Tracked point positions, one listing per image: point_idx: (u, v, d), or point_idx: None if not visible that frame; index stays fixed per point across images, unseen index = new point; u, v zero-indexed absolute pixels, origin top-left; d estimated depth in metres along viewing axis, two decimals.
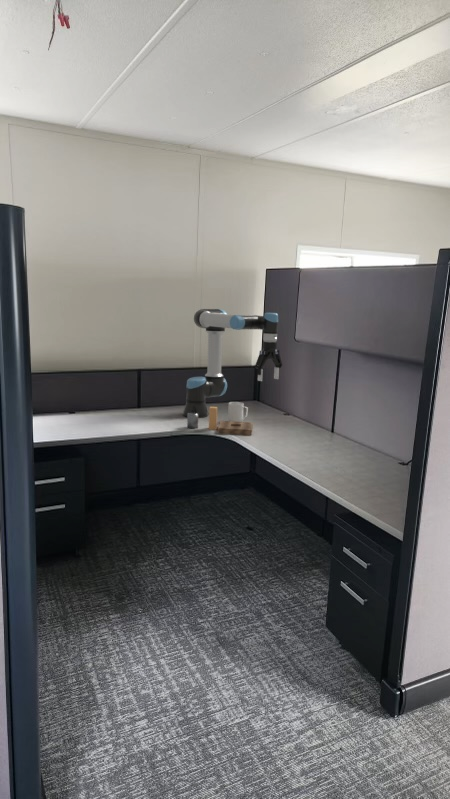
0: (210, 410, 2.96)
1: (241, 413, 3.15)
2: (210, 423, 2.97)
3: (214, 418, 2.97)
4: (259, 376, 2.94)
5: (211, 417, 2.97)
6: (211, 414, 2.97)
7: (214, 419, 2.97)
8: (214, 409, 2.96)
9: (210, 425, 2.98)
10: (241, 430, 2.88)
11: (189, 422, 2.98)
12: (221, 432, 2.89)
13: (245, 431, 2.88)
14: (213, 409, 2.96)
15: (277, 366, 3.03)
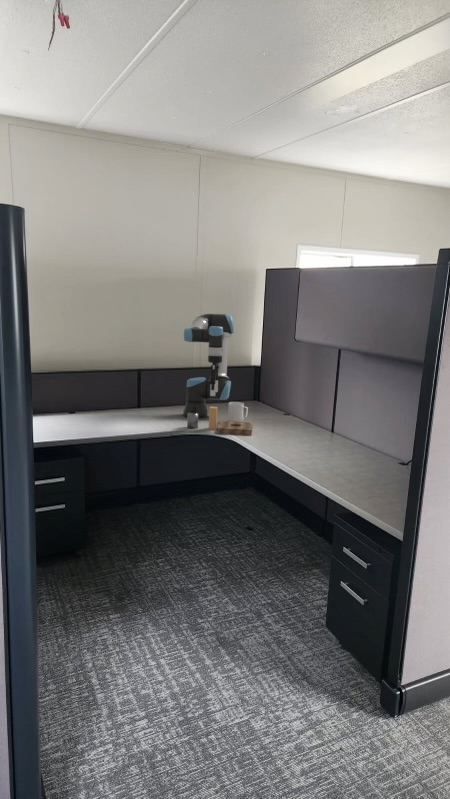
0: (210, 410, 2.96)
1: (241, 413, 3.15)
2: (210, 423, 2.97)
3: (214, 418, 2.97)
4: (212, 391, 2.89)
5: (211, 417, 2.97)
6: (211, 414, 2.97)
7: (214, 419, 2.97)
8: (214, 409, 2.96)
9: (210, 425, 2.98)
10: (241, 430, 2.88)
11: (189, 422, 2.98)
12: (221, 432, 2.89)
13: (245, 431, 2.88)
14: (213, 409, 2.96)
15: (216, 379, 3.02)
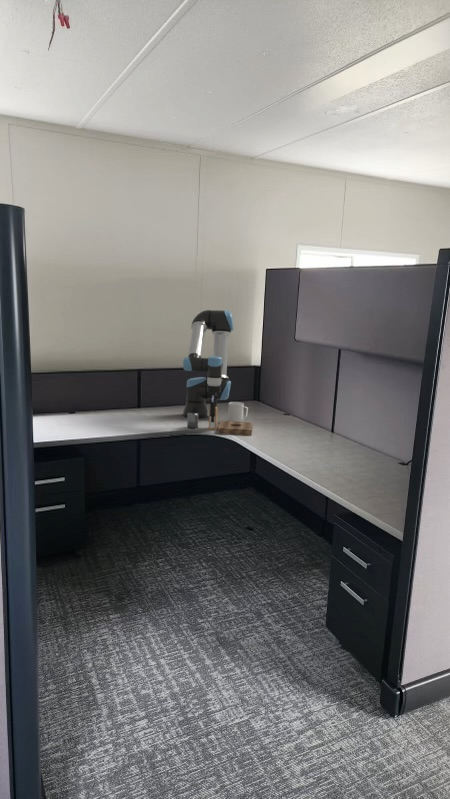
0: None
1: (241, 413, 3.15)
2: None
3: None
4: (212, 423, 2.97)
5: None
6: None
7: None
8: None
9: None
10: (241, 430, 2.88)
11: (189, 422, 2.98)
12: (221, 432, 2.89)
13: (245, 431, 2.88)
14: None
15: None
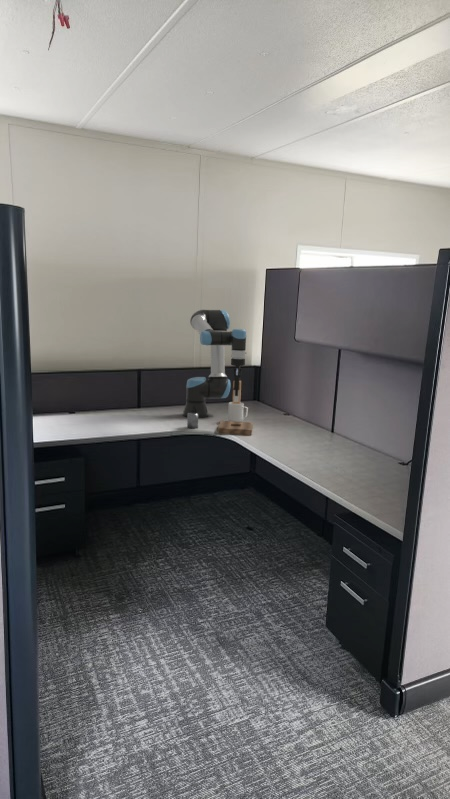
0: None
1: (241, 413, 3.15)
2: (233, 396, 2.92)
3: None
4: (236, 397, 2.92)
5: None
6: None
7: None
8: None
9: (233, 399, 2.93)
10: (241, 430, 2.88)
11: (189, 422, 2.98)
12: (221, 432, 2.89)
13: (245, 431, 2.88)
14: None
15: None
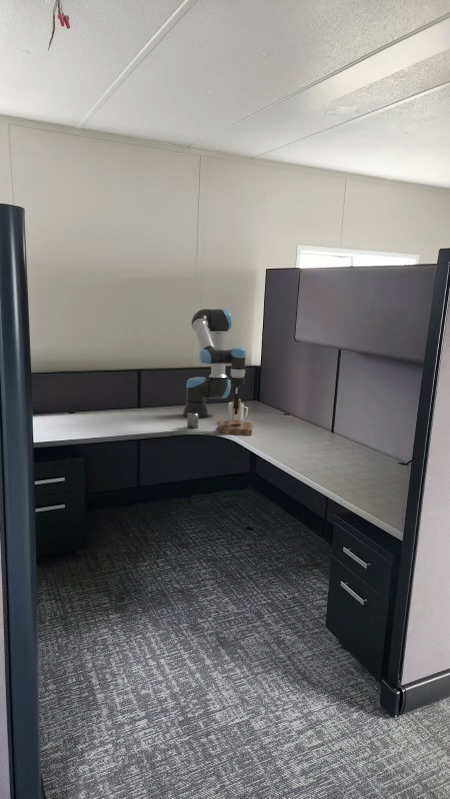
0: (233, 402, 2.93)
1: (241, 413, 3.15)
2: None
3: None
4: (235, 415, 2.93)
5: None
6: None
7: None
8: None
9: None
10: (241, 430, 2.88)
11: (189, 422, 2.98)
12: (221, 432, 2.89)
13: (245, 431, 2.88)
14: None
15: None
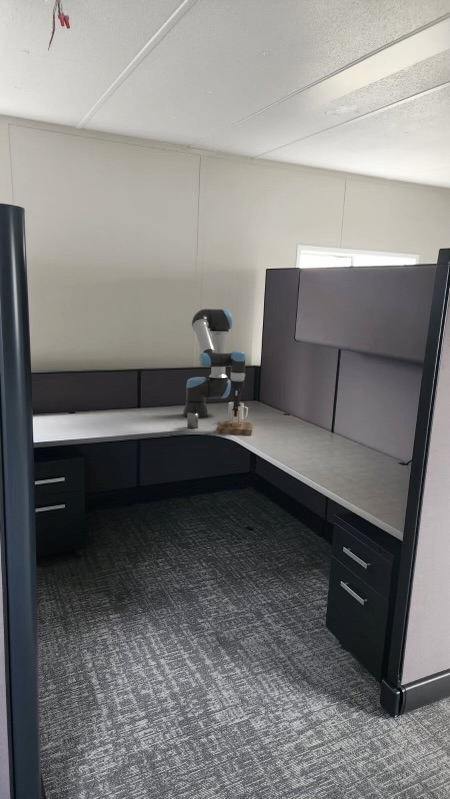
0: None
1: (241, 413, 3.15)
2: (233, 424, 2.95)
3: None
4: (235, 418, 2.90)
5: None
6: None
7: None
8: None
9: None
10: (241, 430, 2.88)
11: (189, 422, 2.98)
12: (221, 432, 2.89)
13: (245, 431, 2.88)
14: None
15: (237, 405, 3.01)
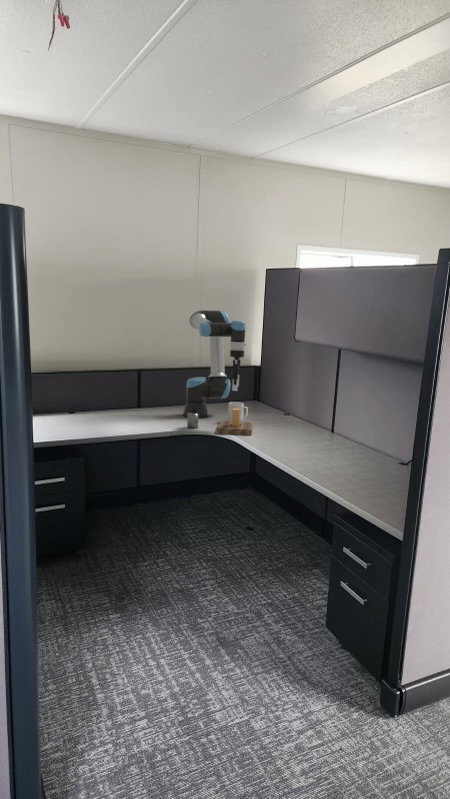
0: (233, 412, 2.94)
1: (241, 413, 3.15)
2: (233, 424, 2.95)
3: (237, 420, 2.94)
4: (234, 386, 2.88)
5: (234, 419, 2.95)
6: (234, 415, 2.94)
7: (237, 421, 2.95)
8: (237, 411, 2.94)
9: None
10: (241, 430, 2.88)
11: (189, 422, 2.98)
12: (221, 432, 2.89)
13: (245, 431, 2.88)
14: (236, 411, 2.94)
15: None
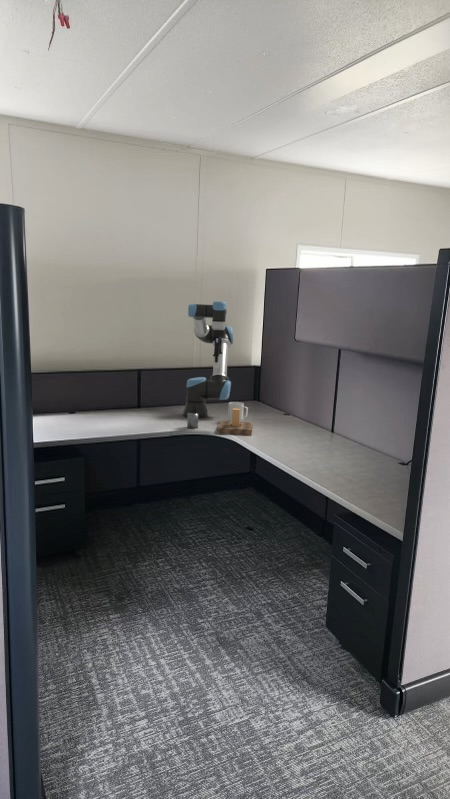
0: (233, 412, 2.94)
1: (241, 413, 3.15)
2: (233, 424, 2.95)
3: (237, 420, 2.94)
4: (216, 363, 3.02)
5: (234, 419, 2.95)
6: (234, 415, 2.94)
7: (237, 421, 2.95)
8: (237, 411, 2.94)
9: None
10: (241, 430, 2.88)
11: (189, 422, 2.98)
12: (221, 432, 2.89)
13: (245, 431, 2.88)
14: (236, 411, 2.94)
15: (219, 353, 3.15)
